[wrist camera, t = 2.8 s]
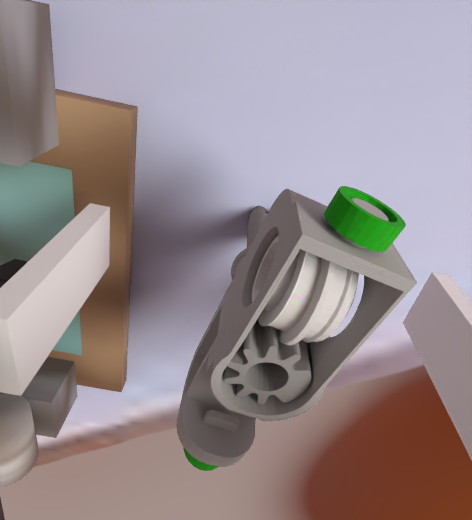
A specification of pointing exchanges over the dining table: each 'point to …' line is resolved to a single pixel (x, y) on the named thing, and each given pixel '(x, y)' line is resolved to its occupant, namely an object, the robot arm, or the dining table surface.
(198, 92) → the dining table surface
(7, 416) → the mint panel frame
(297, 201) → the mechanical component
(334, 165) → the dining table surface
